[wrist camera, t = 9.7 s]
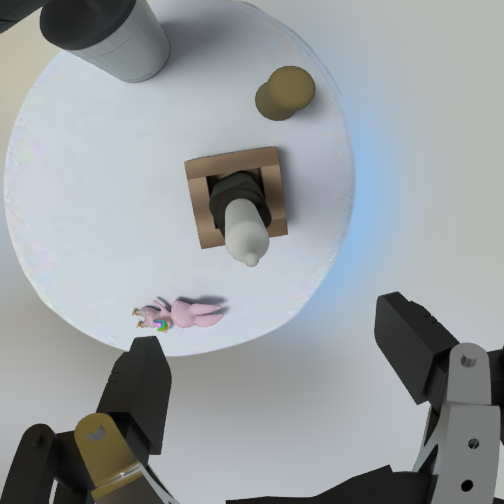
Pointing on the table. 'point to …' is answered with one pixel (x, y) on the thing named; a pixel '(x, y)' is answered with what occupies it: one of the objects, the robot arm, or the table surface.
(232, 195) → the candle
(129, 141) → the table surface
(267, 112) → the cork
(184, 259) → the table surface
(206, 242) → the box
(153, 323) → the pink rainbow-tailed figurine
